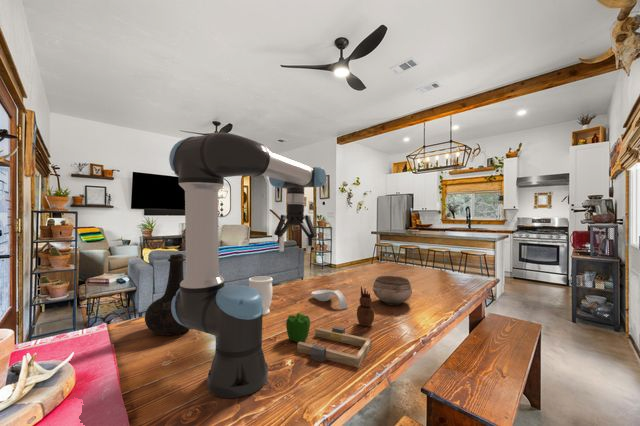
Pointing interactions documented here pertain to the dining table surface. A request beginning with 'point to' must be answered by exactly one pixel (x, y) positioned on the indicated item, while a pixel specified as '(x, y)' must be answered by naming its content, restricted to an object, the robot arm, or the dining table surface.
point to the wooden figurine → (365, 309)
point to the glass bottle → (167, 302)
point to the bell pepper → (298, 327)
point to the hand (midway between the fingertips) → (294, 252)
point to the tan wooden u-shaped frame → (329, 354)
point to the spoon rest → (328, 294)
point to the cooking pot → (392, 289)
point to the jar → (263, 290)
